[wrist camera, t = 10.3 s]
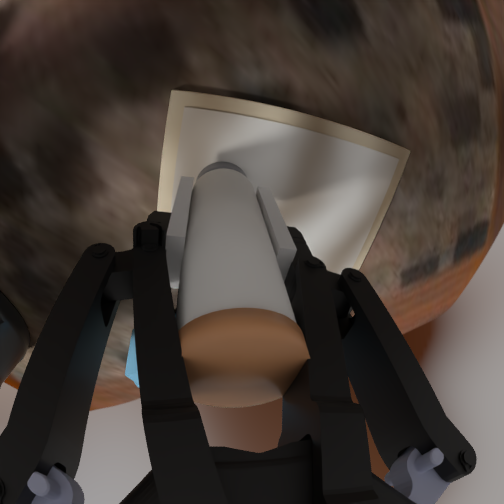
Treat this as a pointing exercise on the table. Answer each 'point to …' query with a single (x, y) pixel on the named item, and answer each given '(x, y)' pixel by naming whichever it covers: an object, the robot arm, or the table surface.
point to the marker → (234, 298)
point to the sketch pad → (288, 167)
